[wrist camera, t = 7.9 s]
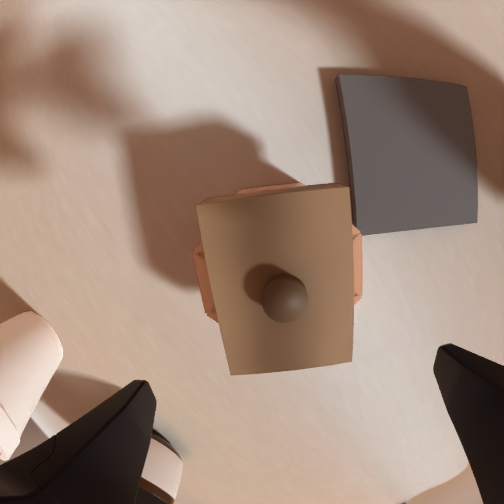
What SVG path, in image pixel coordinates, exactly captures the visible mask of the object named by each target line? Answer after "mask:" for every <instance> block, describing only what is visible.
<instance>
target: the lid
mask: <svg viewBox="0 0 504 504" xmlns="http://www.w3.org/2000/svg"><path fill="white" fill-rule="evenodd" d="M196 210H197V216H198V222H199V227H200V233H201V238H202V244H203V249H204V254H205V259H206V264H207V269H208V275H209V279H210V284H211V289H212V294H213V299H214V304H215V308H216V313H217V317H218V322H219V327H220V331H221V335H222V340H223V344H224V348H225V353H226V357H227V361H228V365H229V370H230V374H231V375H246V374H259V373H271V372H281V371H290V370H298V369H306V368H314V367H321V366H328V365H334V364H340V363H346V362H352V351H353V325H354V260H353V234H352V217H351V203H350V190H349V187H348V186H344V185H341V184H338V183H328V184H317V185H308V186H298V187H289V188H281V189H272V190H264V191H257V192H249V193H242V194H235V195H228V196H221V197H214V198H208V199H206V200H204V201H202V202H201V203H199V204H198V205H196Z"/></svg>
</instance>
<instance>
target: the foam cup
mask: <svg viewBox="0 0 504 504" xmlns="http://www.w3.org/2000/svg"><path fill="white" fill-rule="evenodd" d="M62 357H63V349H62V346H61V343H60V340H59V338H58V336H57V334H56V333H55V331H54V330H53V328H52V327H51V325H50V324H49V323H48V322H47V321H45V320H44V319H43V318H42V317H41V316H40V315H38V314H36V313H34V312H32V311H27V312H23V313H21V314H18V315H16V316H14V317H12V318H10V319H8V320H7V321H5V322H3V323H1V324H0V459H2V460H3V461H4V460H8V459H9V458H10V456H11V455H12V453H13V452H14V450H15V449H16V447H17V446H18V444H19V443H20V436H21V434H22V432H23V429H24V428H25V426H26V424H27V422H28V420H29V418H30V416H31V414H32V412H33V410H34V408H35V407H36V405H37V403H38V401H39V399H40V397H41V395H42V394H43V392H44V390H45V388H46V387H47V385H48V383H49V381H50V380H51V378H52V376H53V374H54V373H55V371H56V369H57V368H58V366H59V364H60V362H61V360H62Z"/></svg>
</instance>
